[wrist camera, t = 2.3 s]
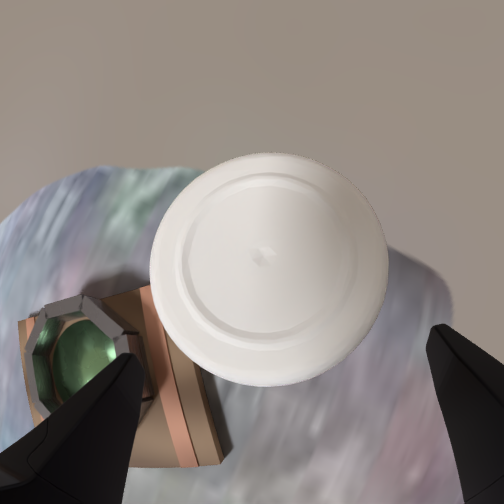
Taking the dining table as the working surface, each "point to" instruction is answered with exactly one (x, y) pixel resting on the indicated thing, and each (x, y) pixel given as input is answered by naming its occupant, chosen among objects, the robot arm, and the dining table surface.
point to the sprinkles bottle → (269, 269)
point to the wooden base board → (157, 391)
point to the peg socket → (78, 350)
